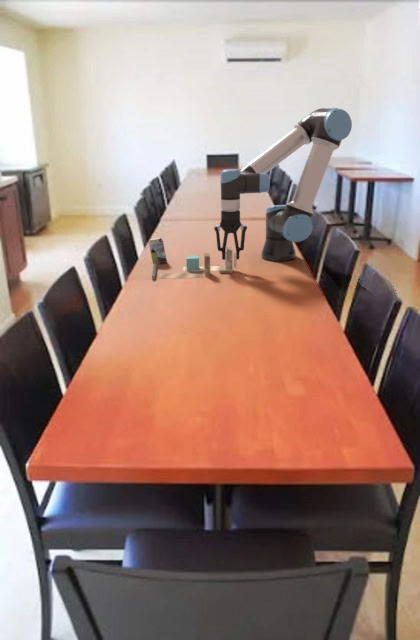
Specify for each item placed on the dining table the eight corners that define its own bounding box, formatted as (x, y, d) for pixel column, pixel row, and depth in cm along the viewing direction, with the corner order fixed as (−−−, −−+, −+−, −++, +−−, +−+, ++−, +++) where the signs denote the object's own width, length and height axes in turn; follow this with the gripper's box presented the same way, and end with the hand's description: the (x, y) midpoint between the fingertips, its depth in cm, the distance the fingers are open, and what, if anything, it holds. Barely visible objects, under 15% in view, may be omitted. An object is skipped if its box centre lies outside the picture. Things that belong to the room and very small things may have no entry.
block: (198, 267, 233) (198, 255, 232) (199, 270, 229) (199, 258, 227) (186, 267, 233) (186, 255, 231) (186, 270, 229) (186, 258, 227)
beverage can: (164, 267, 238) (163, 239, 234) (148, 267, 240) (146, 239, 236) (168, 263, 244) (167, 236, 240) (152, 263, 246) (151, 236, 241)
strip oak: (209, 274, 226) (209, 252, 223) (210, 279, 220) (210, 256, 217) (159, 276, 226) (158, 254, 222) (159, 281, 219) (157, 258, 216)
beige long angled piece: (231, 267, 235) (231, 246, 232) (232, 272, 229) (232, 250, 226) (183, 269, 234) (182, 248, 231) (183, 274, 228) (182, 252, 225)
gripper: (249, 207, 227) (249, 264, 235) (209, 208, 226) (210, 265, 235) (252, 210, 220) (251, 269, 228) (210, 211, 219) (211, 270, 228)
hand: (230, 267), depth 232 cm, fingers open, 3 cm apart
